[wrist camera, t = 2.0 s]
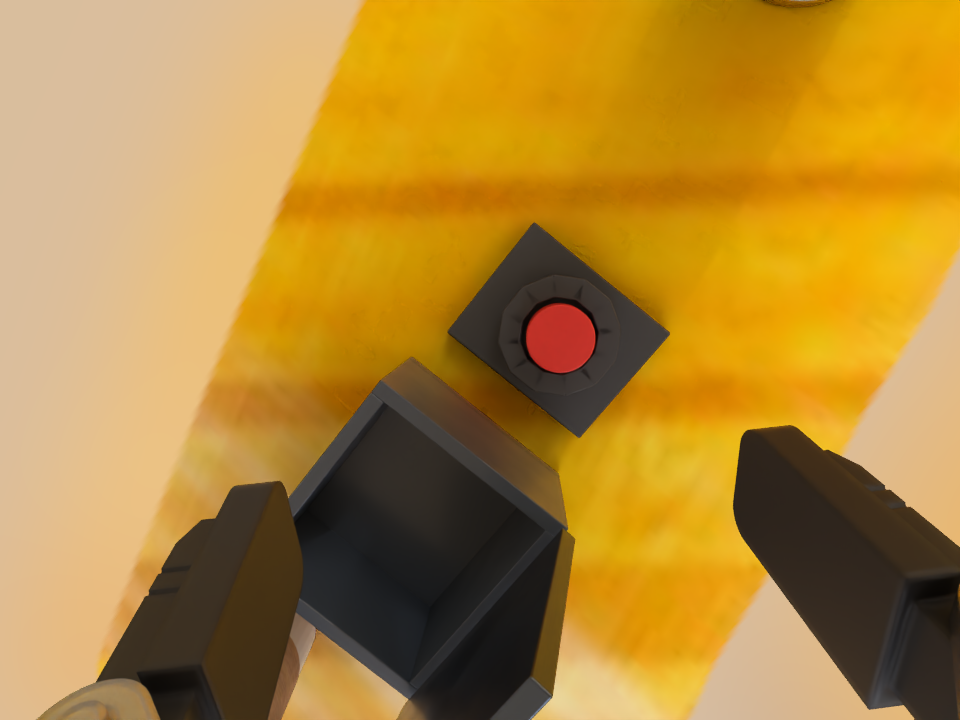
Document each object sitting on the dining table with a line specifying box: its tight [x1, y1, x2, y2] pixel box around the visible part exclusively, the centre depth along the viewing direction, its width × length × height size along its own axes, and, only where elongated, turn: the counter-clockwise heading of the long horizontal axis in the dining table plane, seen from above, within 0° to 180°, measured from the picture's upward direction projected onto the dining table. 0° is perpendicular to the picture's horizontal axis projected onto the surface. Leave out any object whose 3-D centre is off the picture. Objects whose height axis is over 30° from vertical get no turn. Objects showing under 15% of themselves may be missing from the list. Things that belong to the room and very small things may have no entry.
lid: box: [396, 529, 575, 720], centre depth 23 cm, size 12×13×1 cm
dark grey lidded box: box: [288, 357, 568, 699], centre depth 33 cm, size 12×13×8 cm
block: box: [448, 223, 670, 437], centre depth 33 cm, size 8×10×3 cm
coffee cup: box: [268, 613, 316, 720], centre depth 32 cm, size 8×8×15 cm
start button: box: [526, 303, 595, 373], centre depth 31 cm, size 4×4×2 cm
